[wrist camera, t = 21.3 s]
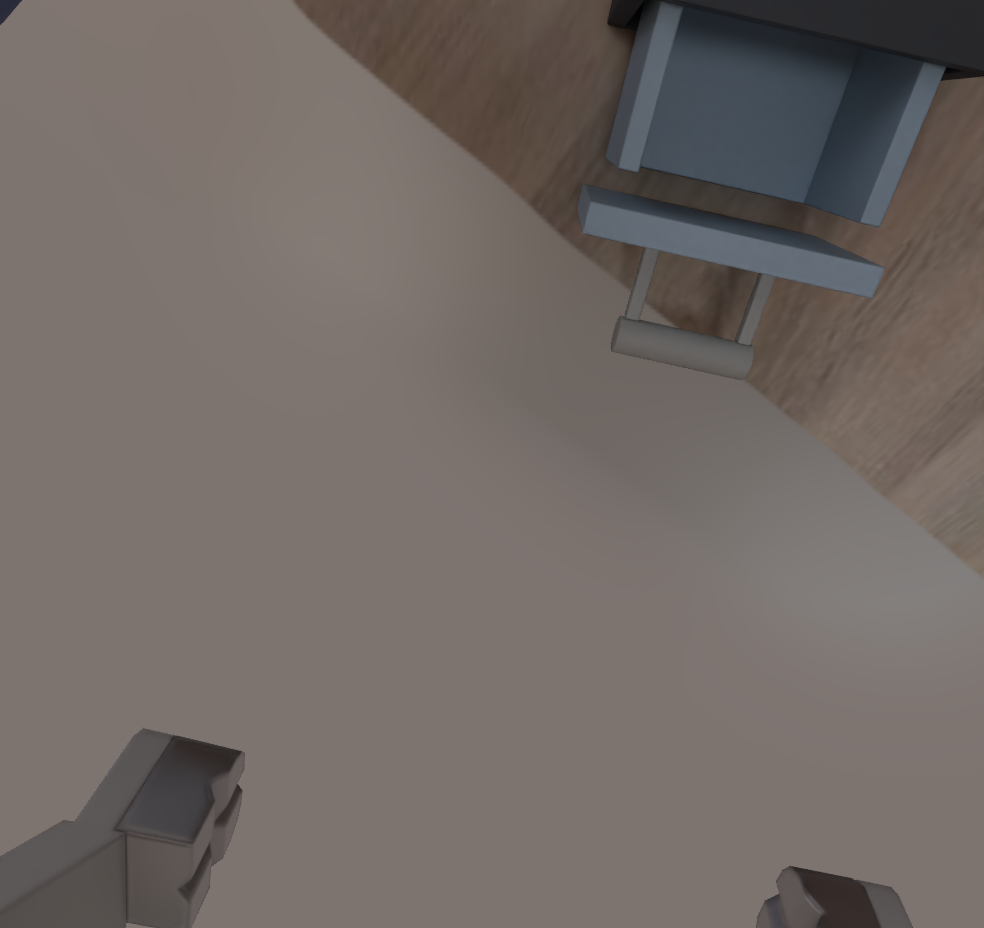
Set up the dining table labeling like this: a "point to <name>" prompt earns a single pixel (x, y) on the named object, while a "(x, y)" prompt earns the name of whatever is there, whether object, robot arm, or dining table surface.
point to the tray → (752, 160)
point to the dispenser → (859, 25)
